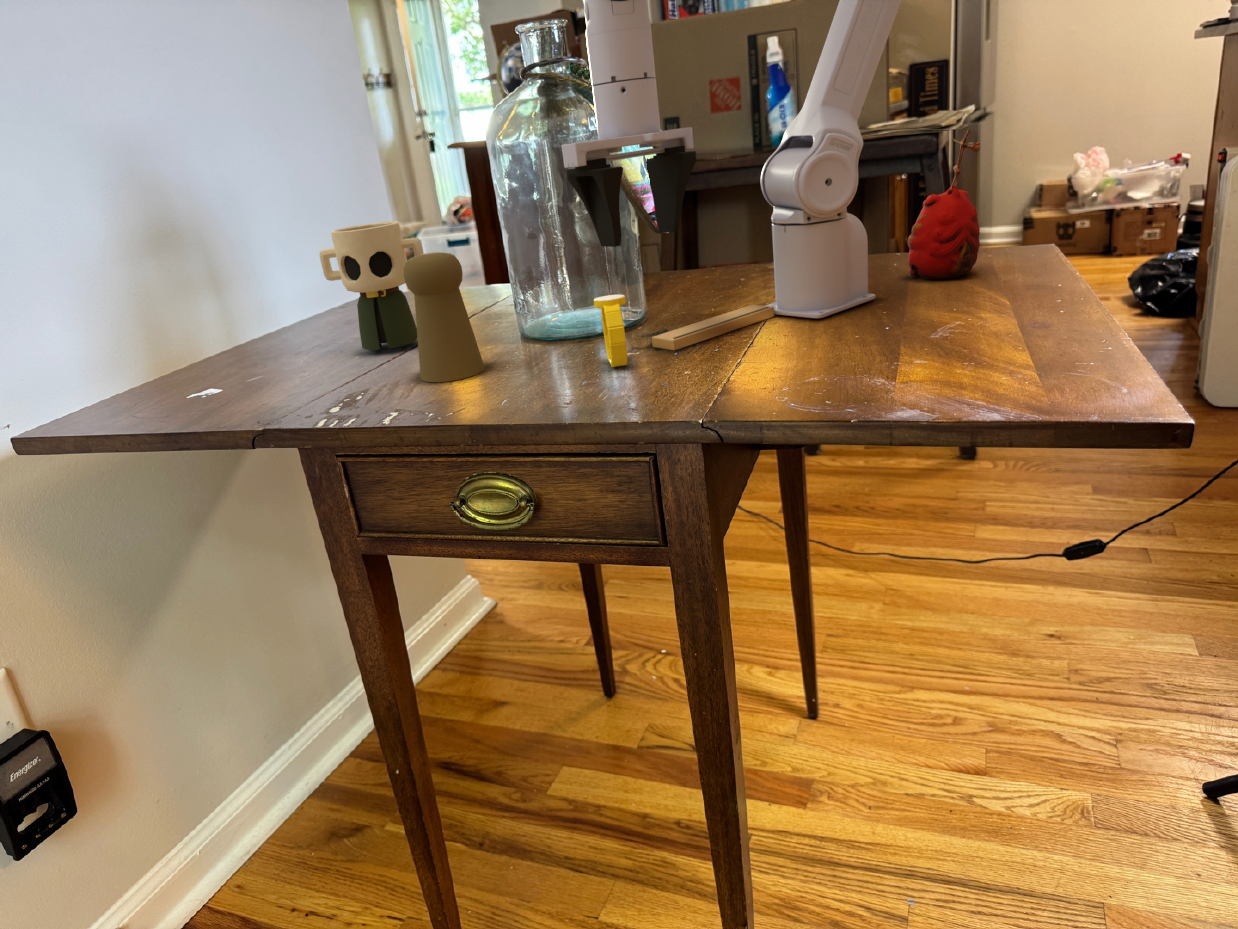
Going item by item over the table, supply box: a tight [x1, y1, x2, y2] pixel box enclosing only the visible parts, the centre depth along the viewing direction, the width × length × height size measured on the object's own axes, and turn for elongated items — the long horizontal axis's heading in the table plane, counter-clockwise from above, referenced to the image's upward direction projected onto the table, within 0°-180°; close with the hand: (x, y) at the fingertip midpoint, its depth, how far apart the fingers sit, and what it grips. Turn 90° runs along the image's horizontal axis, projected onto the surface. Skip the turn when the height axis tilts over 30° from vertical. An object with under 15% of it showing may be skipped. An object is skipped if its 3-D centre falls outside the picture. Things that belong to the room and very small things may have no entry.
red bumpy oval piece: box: [907, 128, 981, 281], centre depth 91 cm, size 8×7×15 cm
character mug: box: [318, 221, 424, 351], centre depth 91 cm, size 11×7×13 cm, turn 91°
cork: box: [404, 251, 486, 383], centre depth 77 cm, size 6×6×11 cm
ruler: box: [651, 304, 775, 352], centre depth 82 cm, size 14×3×1 cm, turn 130°
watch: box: [593, 294, 628, 368], centre depth 74 cm, size 6×3×6 cm, turn 7°
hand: (640, 238), depth 80 cm, fingers open, 7 cm apart
